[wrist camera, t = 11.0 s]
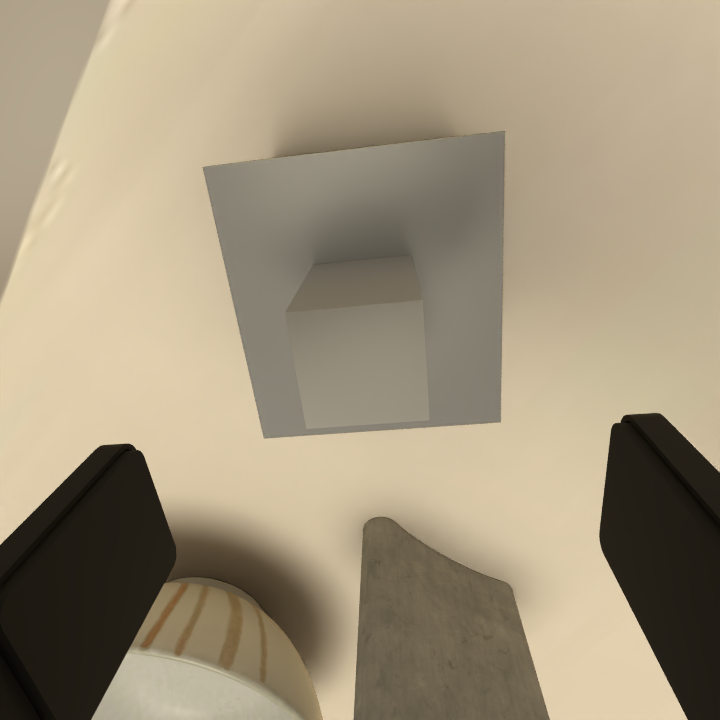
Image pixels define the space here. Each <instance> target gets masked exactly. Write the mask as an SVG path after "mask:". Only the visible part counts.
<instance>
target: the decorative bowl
mask: <svg viewBox="0 0 720 720" xmlns="http://www.w3.org/2000/svg"><path fill="white" fill-rule="evenodd" d="M91 720H323V718H322V714H321V710H320V706H319V702H318V699H317V695H316V692H315V690H314V687H313V684H312V681H311V679H310V676H309V674H308V671H307V669H306V667H305V665H304V663H303V661H302V659H301V657H300V655H299V654H298V652H297V650H296V649H295V647H294V645H293V644H292V642H291V641H290V640H289V638H288V637H287V636H286V634H285V633H284V632H283V631H282V629H281V628H280V627H279V626H278V625H277V624H276V623H275V622H274V621H273V620H272V619H271V618H270V617H269V616H268V615H267V614H265V613H264V611H263V610H262V608H261V607H260V605H259V604H258V603H257V602H256V601H255V600H254V599H253V598H252V597H251V596H250V595H248V594H247V593H245V592H244V591H242V590H241V589H239V588H237V587H235V586H233V585H231V584H228V583H225V582H222V581H219V580H215V579H210V578H202V577H187V578H180V579H176V580H172V581H169V582H167V583H164V585H163V587H162V589H161V590H160V592H159V594H158V596H157V598H156V600H155V602H154V603H153V605H152V607H151V609H150V611H149V613H148V615H147V617H146V618H145V620H144V622H143V624H142V626H141V628H140V630H139V632H138V633H137V635H136V637H135V639H134V641H133V643H132V645H131V646H130V648H129V650H128V652H127V654H126V656H125V658H124V660H123V661H122V663H121V665H120V667H119V669H118V671H117V673H116V674H115V676H114V678H113V680H112V682H111V684H110V686H109V688H108V689H107V691H106V693H105V695H104V697H103V699H102V701H101V703H100V704H99V706H98V708H97V710H96V712H95V714H94V716H93V717H92V719H91Z"/></svg>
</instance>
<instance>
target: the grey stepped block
mask: <svg viewBox="0 0 720 720" xmlns="http://www.w3.org/2000/svg"><path fill="white" fill-rule="evenodd" d="M504 148H505V131H502V132H492V133H482V134H473V135H463V136H454V137H445V138H437V139H428V140H420V141H411V142H403V143H395V144H386V145H378V146H369V147H361V148H353V149H344V150H336V151H327V152H319V153H310V154H302V155H294V156H285V157H277V158H269V159H261V160H253V161H245V162H238V163H230V164H222V165H214V166H207V167H203V171H204V175H205V180H206V184H207V188H208V193H209V197H210V202H211V206H212V211H213V215H214V219H215V224H216V228H217V233H218V237H219V242H220V246H221V250H222V255H223V259H224V264H225V268H226V272H227V277H228V281H229V286H230V290H231V295H232V299H233V303H234V308H235V312H236V317H237V321H238V326H239V330H240V334H241V339H242V343H243V348H244V352H245V357H246V361H247V365H248V370H249V374H250V379H251V383H252V388H253V392H254V396H255V401H256V405H257V410H258V414H259V419H260V423H261V427H262V432H263V436H264V438H278V437H292V436H307V435H322V434H336V433H351V432H366V431H380V430H395V429H410V428H424V427H439V426H453V425H468V424H483V423H497V422H501V361H502V290H503V219H504Z"/></svg>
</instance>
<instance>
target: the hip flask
mask: <svg viewBox="0 0 720 720" xmlns="http://www.w3.org/2000/svg"><path fill="white" fill-rule="evenodd" d="M354 720H550V719H549V716H548V712H547V709H546V705H545V702H544V698H543V695H542V691H541V688H540V685H539V681H538V678H537V674H536V671H535V667H534V664H533V660H532V657H531V654H530V650H529V647H528V643H527V640H526V636H525V633H524V629H523V626H522V622H521V619H520V616H519V612H518V609H517V605H516V602H515V598H514V595H513V591H512V588H511V587H510V586H509V585H508V584H507V583H505V582H502V581H499V580H496V579H493V578H491V577H488V576H485V575H483V574H480V573H478V572H475V571H473V570H471V569H469V568H467V567H464V566H462V565H460V564H458V563H456V562H454V561H453V560H451V559H449V558H447V557H445V556H443V555H442V554H440V553H438V552H436V551H435V550H433V549H431V548H430V547H428V546H427V545H425V544H423V543H422V542H420V541H419V540H417V539H416V538H415V537H413V536H412V535H410V534H409V533H408V532H407V531H405V530H404V529H403V528H402V527H400V526H399V525H398V524H397V523H396V522H394V521H393V520H391V519H389V518H384V517H378V518H374V519H371V520H369V521H368V522H367V523H366V524H365V526H364V529H363V546H362V565H361V585H360V605H359V625H358V645H357V664H356V684H355V704H354Z"/></svg>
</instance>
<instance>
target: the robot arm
mask: <svg viewBox="0 0 720 720" xmlns="http://www.w3.org/2000/svg"><path fill="white" fill-rule="evenodd" d="M599 537H600V544H601V548H602V551H603V554H604V556H605V558H606V560H607V562H608V564H609V566H610V568H611V569H612V571H613V573H614V575H615V577H616V579H617V581H618V583H619V585H620V587H621V589H622V591H623V593H624V595H625V597H626V599H627V601H628V603H629V605H630V607H631V609H632V611H633V613H634V615H635V617H636V619H637V621H638V623H639V625H640V627H641V628H642V630H643V632H644V634H645V636H646V638H647V640H648V642H649V644H650V646H651V648H652V650H653V652H654V654H655V656H656V658H657V660H658V662H659V664H660V666H661V668H662V670H663V672H664V674H665V676H666V678H667V680H668V682H669V684H670V686H671V687H672V689H673V691H674V693H675V695H676V697H677V699H678V701H679V703H680V705H681V707H682V709H683V711H684V713H685V715H686V717H687V719H688V720H720V473H719V472H718V471H717V470H716V469H715V468H714V467H713V466H712V465H711V463H710V462H709V461H708V460H707V459H706V458H705V457H704V456H703V455H702V454H701V453H700V452H699V451H698V450H697V449H696V448H695V447H694V446H693V445H692V444H691V443H690V442H689V441H688V440H687V439H686V438H685V437H684V436H683V435H682V434H681V433H680V432H679V431H678V430H677V429H676V428H675V427H674V426H673V425H672V424H671V423H670V422H669V421H668V420H667V419H666V418H665V417H664V416H662V415H661V414H659V413H650V414H633V415H625V416H623V418H622V420H621V423H615V424H613V426H612V429H611V436H610V445H609V453H608V462H607V471H606V480H605V488H604V497H603V506H602V515H601V523H600V533H599ZM175 560H176V546H175V543H174V540H173V538H172V535H171V532H170V529H169V526H168V523H167V520H166V518H165V515H164V512H163V509H162V506H161V503H160V500H159V498H158V495H157V492H156V489H155V486H154V483H153V480H152V478H151V475H150V472H149V469H148V466H147V463H146V461H145V458H144V455H143V453H142V452H141V451H139V450H136V449H135V447H134V446H133V445H131V444H115V445H102V446H100V447H98V448H97V449H96V450H95V451H94V452H93V453H92V454H91V455H90V456H89V457H88V458H87V459H86V460H85V461H84V462H83V463H82V464H81V465H80V466H79V467H78V468H77V469H76V470H75V471H74V472H73V473H72V474H71V475H70V476H69V477H68V478H67V479H66V480H65V481H64V482H63V483H62V484H61V485H60V486H59V487H58V488H57V489H56V490H55V491H54V492H53V493H52V494H51V495H50V496H49V497H48V498H47V499H46V500H45V501H44V502H43V503H42V504H41V505H40V506H39V507H38V508H37V509H36V510H35V511H34V512H33V513H32V514H31V515H30V516H29V517H28V518H27V519H26V520H25V521H24V522H23V523H22V524H21V525H20V526H19V527H18V528H17V529H16V530H15V531H14V532H13V533H12V534H11V535H10V536H9V537H8V538H7V539H6V540H5V541H4V542H3V543H2V544H1V545H0V720H91V719H92V717H93V716H94V714H95V712H96V710H97V708H98V706H99V704H100V703H101V701H102V699H103V697H104V695H105V693H106V691H107V689H108V688H109V686H110V684H111V682H112V680H113V678H114V676H115V674H116V673H117V671H118V669H119V667H120V665H121V663H122V661H123V660H124V658H125V656H126V654H127V652H128V650H129V648H130V646H131V645H132V643H133V641H134V639H135V637H136V635H137V633H138V632H139V630H140V628H141V626H142V624H143V622H144V620H145V618H146V617H147V615H148V613H149V611H150V609H151V607H152V605H153V603H154V602H155V600H156V598H157V596H158V594H159V592H160V590H161V589H162V587H163V585H164V583H165V581H166V579H167V577H168V575H169V574H170V572H171V570H172V568H173V566H174V564H175Z"/></svg>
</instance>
